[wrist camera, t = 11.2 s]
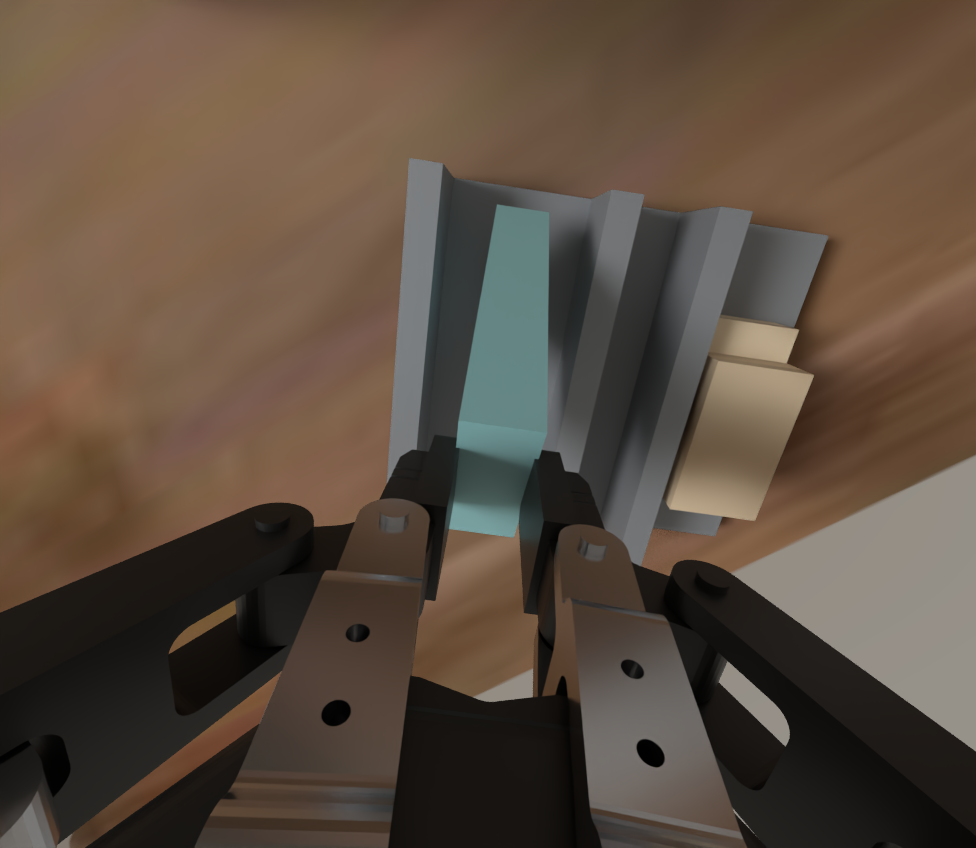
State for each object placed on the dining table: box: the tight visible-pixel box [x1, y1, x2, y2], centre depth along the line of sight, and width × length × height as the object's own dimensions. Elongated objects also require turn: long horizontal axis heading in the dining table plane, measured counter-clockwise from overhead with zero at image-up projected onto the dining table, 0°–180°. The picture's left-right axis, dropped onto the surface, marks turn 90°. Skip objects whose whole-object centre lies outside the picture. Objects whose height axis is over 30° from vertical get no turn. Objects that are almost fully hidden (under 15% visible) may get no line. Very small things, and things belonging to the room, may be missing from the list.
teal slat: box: [449, 205, 549, 538], centre depth 16 cm, size 5×2×11 cm, turn 173°
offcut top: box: [663, 352, 814, 521], centre depth 21 cm, size 7×4×2 cm, turn 172°
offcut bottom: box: [709, 314, 799, 363], centre depth 23 cm, size 8×4×2 cm, turn 172°
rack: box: [387, 158, 828, 566], centre depth 22 cm, size 16×18×6 cm
